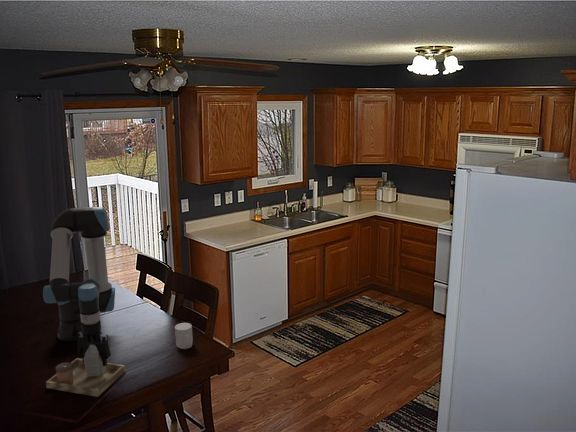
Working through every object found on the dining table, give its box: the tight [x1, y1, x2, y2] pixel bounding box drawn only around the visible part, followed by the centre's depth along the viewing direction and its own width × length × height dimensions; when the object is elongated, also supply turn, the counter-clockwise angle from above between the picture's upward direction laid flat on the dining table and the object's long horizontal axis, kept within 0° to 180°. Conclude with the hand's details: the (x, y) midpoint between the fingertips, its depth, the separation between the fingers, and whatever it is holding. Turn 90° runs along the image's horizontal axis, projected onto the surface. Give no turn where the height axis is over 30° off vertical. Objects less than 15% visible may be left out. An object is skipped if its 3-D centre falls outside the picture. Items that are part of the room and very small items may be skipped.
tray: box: [45, 357, 126, 398], centre depth 223 cm, size 24×20×4 cm
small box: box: [84, 344, 101, 376], centre depth 224 cm, size 8×6×10 cm
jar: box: [55, 361, 74, 385], centre depth 219 cm, size 6×6×8 cm
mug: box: [174, 322, 194, 350], centre depth 252 cm, size 12×9×8 cm
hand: (95, 370), depth 225 cm, fingers closed on small box, 7 cm apart
